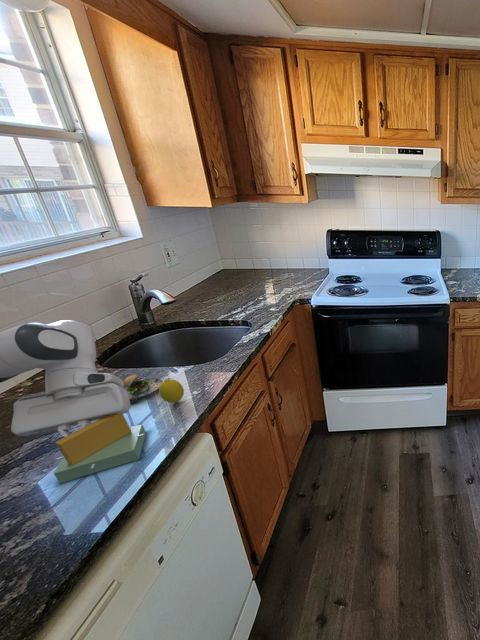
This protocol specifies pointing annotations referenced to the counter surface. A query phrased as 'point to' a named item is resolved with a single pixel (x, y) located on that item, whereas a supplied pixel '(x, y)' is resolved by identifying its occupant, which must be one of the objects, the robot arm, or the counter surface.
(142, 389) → the plate of food
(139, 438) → the panel
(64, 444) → the mustard yellow rectangular block
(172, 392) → the lemon
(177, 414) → the counter surface
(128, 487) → the counter surface
